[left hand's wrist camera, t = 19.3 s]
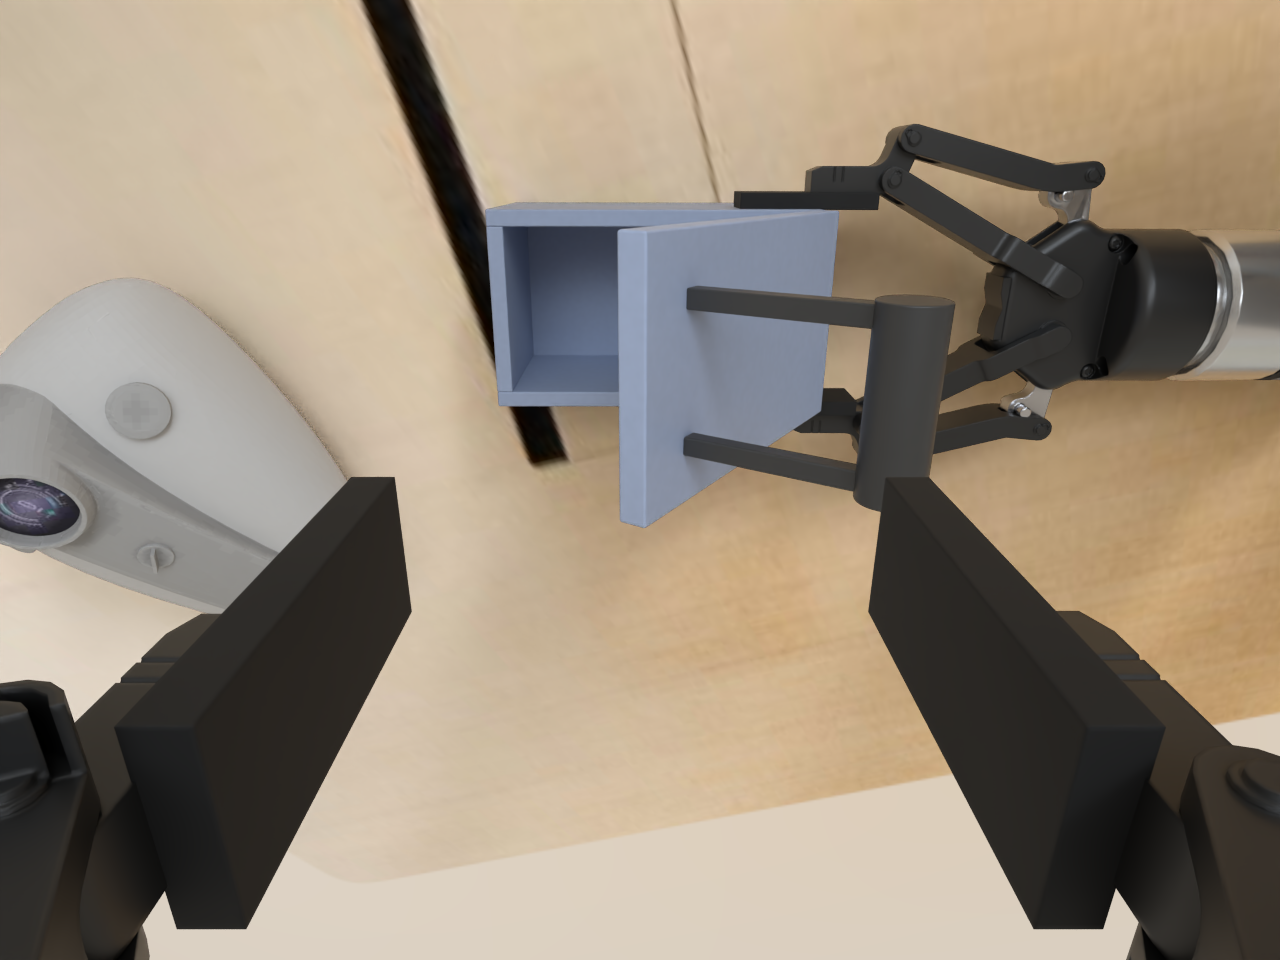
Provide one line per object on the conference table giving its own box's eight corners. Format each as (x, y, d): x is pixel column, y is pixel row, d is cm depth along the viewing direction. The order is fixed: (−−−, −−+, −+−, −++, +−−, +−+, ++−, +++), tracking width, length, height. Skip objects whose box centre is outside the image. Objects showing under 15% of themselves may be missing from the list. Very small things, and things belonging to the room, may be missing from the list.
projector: (75, 599, 54) (-118, 744, 40) (-10, 259, 45) (-290, 296, 31) (394, 614, 54) (312, 762, 40) (370, 280, 46) (255, 326, 32)
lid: (618, 522, 26) (890, 597, 21) (616, 229, 23) (939, 243, 18) (801, 408, 39) (996, 440, 34) (817, 210, 35) (1037, 215, 31)
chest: (523, 364, 48) (498, 406, 39) (514, 202, 44) (485, 209, 35) (778, 364, 48) (809, 406, 39) (789, 203, 44) (825, 209, 36)
